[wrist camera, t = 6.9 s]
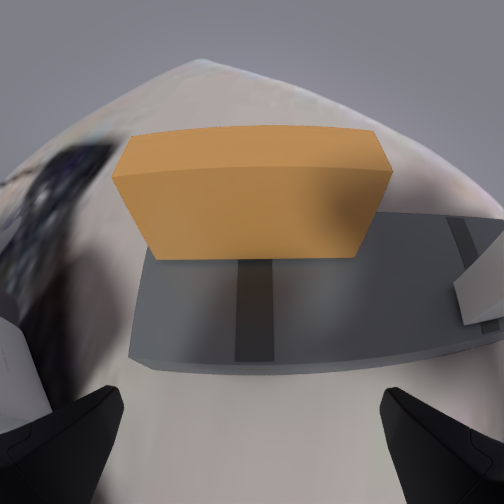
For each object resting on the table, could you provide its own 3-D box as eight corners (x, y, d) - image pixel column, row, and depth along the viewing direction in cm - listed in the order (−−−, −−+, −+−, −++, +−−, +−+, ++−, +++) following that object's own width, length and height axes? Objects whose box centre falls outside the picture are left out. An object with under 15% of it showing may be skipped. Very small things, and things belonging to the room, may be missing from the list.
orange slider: (354, 257, 17) (393, 171, 11) (156, 259, 17) (111, 177, 11) (346, 218, 18) (373, 130, 12) (164, 221, 19) (131, 136, 13)
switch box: (511, 336, 17) (539, 320, 13) (152, 369, 18) (127, 357, 14) (483, 243, 22) (503, 219, 18) (170, 245, 23) (155, 214, 19)
